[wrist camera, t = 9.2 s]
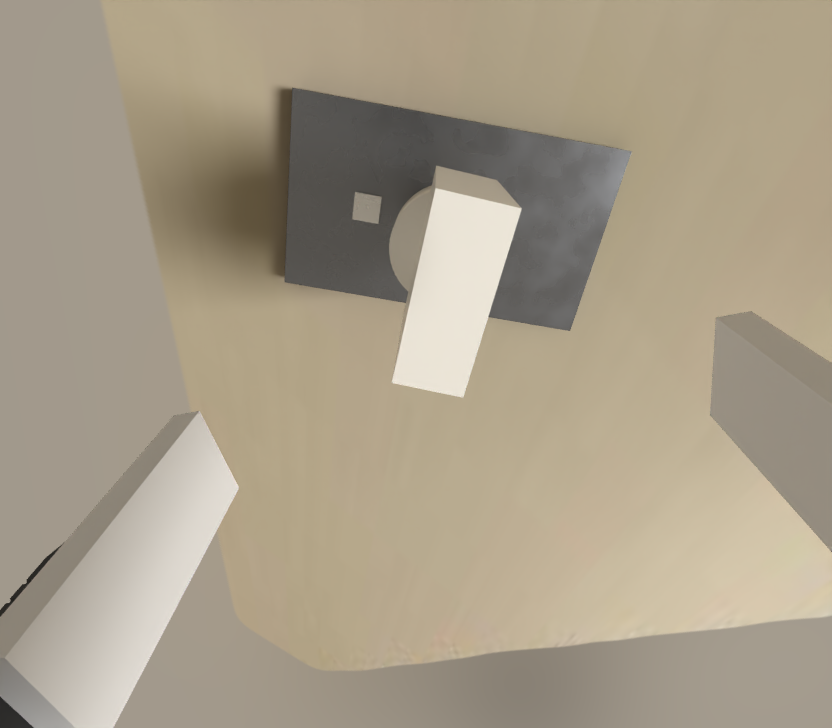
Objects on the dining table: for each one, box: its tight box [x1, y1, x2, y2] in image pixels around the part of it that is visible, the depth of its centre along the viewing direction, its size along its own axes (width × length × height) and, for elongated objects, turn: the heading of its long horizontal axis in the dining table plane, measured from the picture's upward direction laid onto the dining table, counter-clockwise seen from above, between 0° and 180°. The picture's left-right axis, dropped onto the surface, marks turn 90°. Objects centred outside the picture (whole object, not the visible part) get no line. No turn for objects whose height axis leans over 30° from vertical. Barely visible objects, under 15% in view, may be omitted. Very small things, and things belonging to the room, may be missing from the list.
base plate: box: [285, 88, 632, 331], centre depth 35 cm, size 14×24×7 cm, turn 81°
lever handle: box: [389, 166, 522, 397], centre depth 27 cm, size 10×7×12 cm
